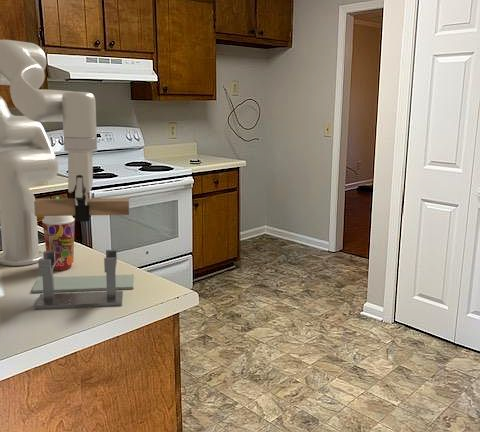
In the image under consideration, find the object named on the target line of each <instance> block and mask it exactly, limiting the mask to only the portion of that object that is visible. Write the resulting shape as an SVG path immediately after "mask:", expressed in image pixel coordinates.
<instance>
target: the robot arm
mask: <svg viewBox="0 0 480 432" xmlns="http://www.w3.org/2000/svg"><path fill="white" fill-rule="evenodd" d="M46 68H47V55H46V54H45V51H44V50H43V49H42V48H41V47H40V46H39V45H38V44H36V43H33V42H28V41H19V40H11V39H0V86H9V93H10V99H11V100H12V104H13V105H14V106H15V108H16V109H17V110H19V112H20V113H21V114H22V115H14V114H12V113H11V111H10V110H9V107H8V104H7V102H6V101H5V99H4V98H3V96H1V95H0V151H1V152H0V234H1V245H2V246H1V247H2V253H0V265H4V266H11V267H13V266H14V267H15V266H26V265H27V266H29V265H32V264H36V263H38V260H39V259H44V257H43V252H44V251H42V250H40V249H39V236H38V235H39V233H38V216H35V209H34V201H35V200H36V197H35V195H34V193H33V192H32V191H31V190H30V188H29V187H28V185H27V184H30V183H38V182H39V183H40V182H48V181H50V180H51V181H52V180H53V179H55V178H56V177H57V175H58V172H59V161H58V159H57V156H56V153H55V151H54V148H53V147H52V144H51V141H50V139H49V137H48V134H47V132H46V130H45V127H44V126H43V124H42V123H47V122H48V123H52V122H55V123H56V122H58V123H62V128H63V129H62V131H63V149H64V152H68V157H67V185H68V186H67V188H68V189H67V192H68V193H69V194H72V193H73V192H74V197H75V198H74V199H75V204H76V205H75V217H74V218H75V222H76V223H78V222H81V223H82V222H89V221H90V218H91V217H92V215H89V205H88V199H91V196H90V194H91V193H90V192H91V191H92V188H93V178H94V177H93V175H94V169H93V168H94V165H93V164H94V163H93V153H94V152H98V140H97V139H98V138H97V135H98V134H97V132H98V131H97V108H96V97H95V95H94V94H93V93H91V92H89V91H88V92H87V91H72V90H63V89H62V90H59V89H40V88H41V87H42V86H43V83H44V82H45V78H46V75H45V70H46Z"/></svg>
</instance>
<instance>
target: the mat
mask: <svg viewBox="0 0 480 432" xmlns="http://www.w3.org/2000/svg"><path fill="white" fill-rule="evenodd" d="M53 279H54V293H64V292H65V293H69V292H93V291H94V292H96V291H107V281H106V274H103V275H78V276H72V275H71V276H53ZM134 280H135V279H134V274H116V291H120V290H119V289H121V290H133V289H134ZM31 291H32V294H34V293H35V294H36V293H41V292H42V293H43V278H42V277H38V279H37V280H36V283H35V284H34V286H33V287H32V290H31ZM42 293H41V294H42Z"/></svg>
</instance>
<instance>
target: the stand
mask: <svg viewBox="0 0 480 432" xmlns="http://www.w3.org/2000/svg"><path fill="white" fill-rule="evenodd" d="M42 252H43V257H44V259H39V260H38V262H37V263H38V275H39V276H40V275H42V278H43V292H42V293H41V294H40V295H39V296H38V299H37V300H36V303H35V305H34V310H49V308H50V310H52V308H53V309H70V308H71V309H73V308H93V307H94V308H95V307H96V308H97V307H98V308H99V307H118V306H123V296H124V291H123V290H116V275H117V274H116V273H117V263H118V261H117V260H118V259H117V258H118V255H117V254H118V253H117V252H118V251H117V249H106V250H105V257H104V259H103V263H104V265H103V266H104V274H105V275H106V281H107V290H106V291H94V292H93V291H81V292H65V293H64V292H54V279H53V277H54V270H53V268H54V266H55V264H56V263H55V251H46V250H44V251H42Z"/></svg>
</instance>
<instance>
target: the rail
mask: <svg viewBox="0 0 480 432" xmlns="http://www.w3.org/2000/svg"><path fill="white" fill-rule="evenodd" d="M75 205H76V204H75V198H59V199H56V198H35V201H34V209H35V216H37V217H44V216H75ZM88 205H89V215H91V216H129V215H130V198H129V197H128V198H127V197H126V198H123V197H122V198H121V197H120V198H117V197H116V198H114V197H112V198H90V199H88Z"/></svg>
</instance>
